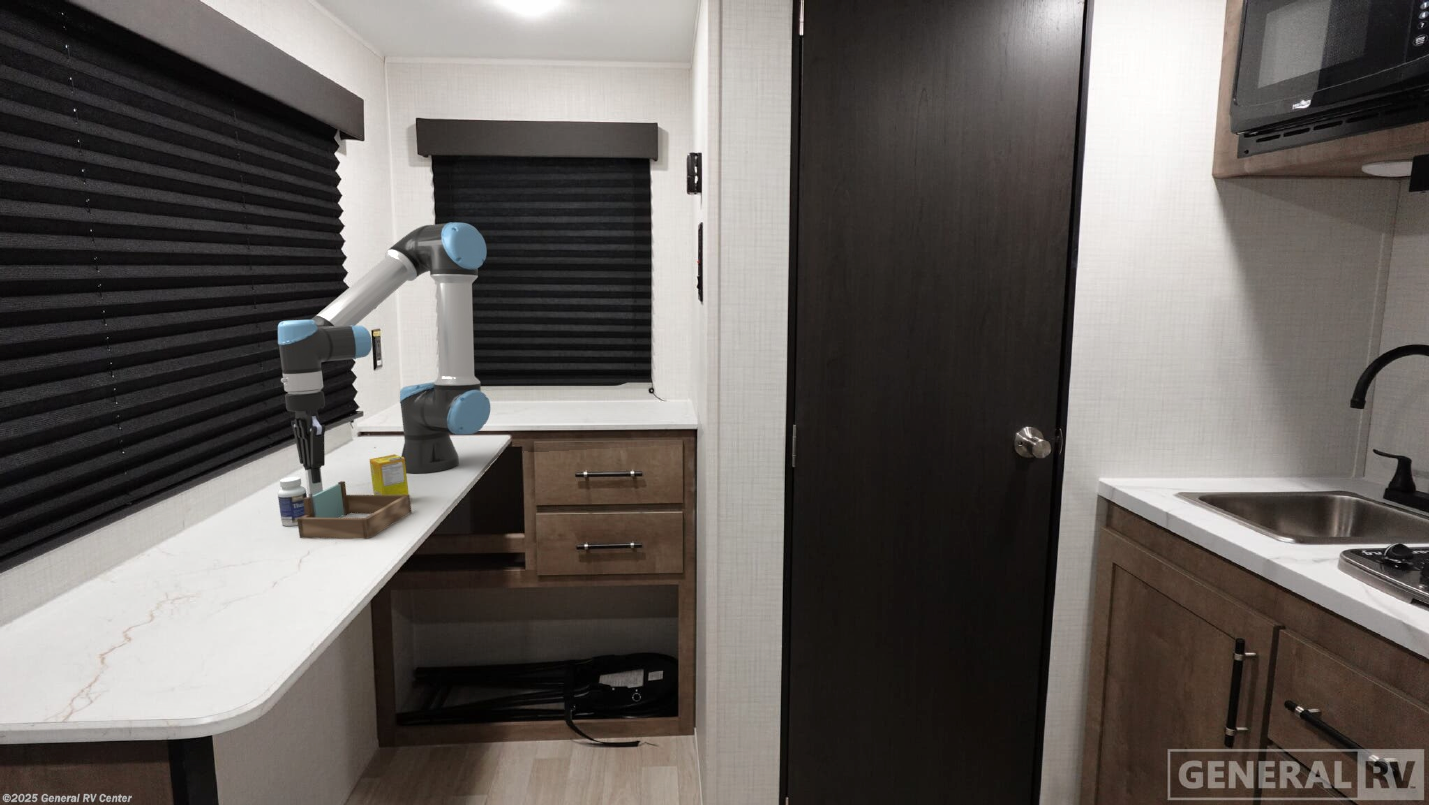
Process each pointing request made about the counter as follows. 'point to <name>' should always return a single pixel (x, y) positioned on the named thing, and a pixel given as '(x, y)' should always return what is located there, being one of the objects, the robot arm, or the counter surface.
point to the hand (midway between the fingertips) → (315, 496)
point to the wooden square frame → (382, 516)
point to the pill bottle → (291, 500)
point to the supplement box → (389, 475)
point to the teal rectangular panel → (328, 503)
